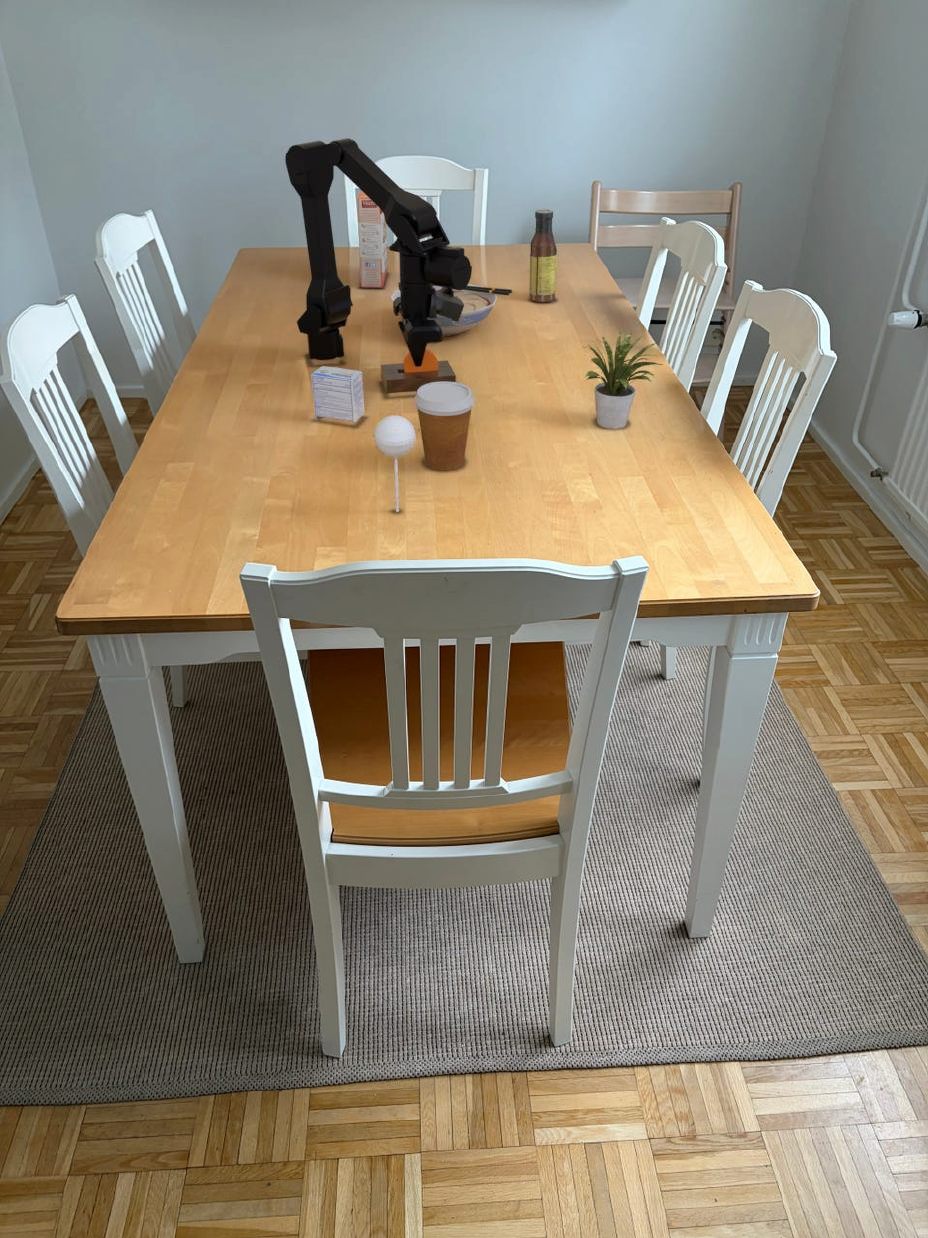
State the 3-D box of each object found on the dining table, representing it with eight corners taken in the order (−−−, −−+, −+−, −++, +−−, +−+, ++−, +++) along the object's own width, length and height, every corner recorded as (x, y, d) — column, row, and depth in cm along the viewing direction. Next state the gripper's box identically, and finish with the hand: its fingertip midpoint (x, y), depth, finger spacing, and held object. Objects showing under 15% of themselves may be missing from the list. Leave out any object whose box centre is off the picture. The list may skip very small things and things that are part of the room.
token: (401, 381, 179) (406, 347, 175) (400, 379, 180) (406, 345, 176) (435, 385, 181) (441, 351, 177) (434, 382, 182) (439, 349, 178)
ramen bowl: (369, 339, 203) (367, 300, 198) (413, 308, 220) (413, 272, 215) (478, 355, 195) (479, 316, 190) (515, 322, 212) (517, 285, 208)
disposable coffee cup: (453, 480, 150) (453, 408, 143) (403, 465, 154) (401, 394, 147) (484, 458, 156) (486, 388, 150) (436, 444, 161) (435, 375, 154)
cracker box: (384, 288, 232) (381, 196, 220) (359, 288, 232) (355, 196, 220) (389, 272, 243) (386, 184, 231) (365, 272, 243) (361, 184, 231)
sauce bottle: (559, 298, 227) (565, 209, 216) (547, 305, 223) (552, 215, 211) (535, 293, 230) (540, 206, 218) (523, 300, 226) (527, 211, 214)
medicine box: (365, 417, 169) (363, 370, 164) (355, 427, 166) (352, 379, 161) (325, 411, 171) (321, 364, 166) (314, 420, 168) (310, 373, 163)
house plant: (595, 448, 160) (605, 353, 151) (552, 417, 170) (558, 327, 160) (664, 432, 165) (677, 340, 156) (618, 404, 175) (628, 315, 166)
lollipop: (377, 501, 144) (373, 408, 135) (416, 500, 144) (414, 407, 136) (377, 522, 139) (373, 426, 130) (418, 520, 139) (416, 425, 131)
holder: (387, 398, 177) (386, 380, 175) (381, 382, 183) (380, 364, 181) (455, 393, 179) (455, 375, 177) (447, 377, 185) (447, 360, 183)
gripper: (471, 292, 163) (470, 380, 172) (450, 263, 178) (450, 345, 187) (407, 296, 161) (409, 384, 170) (391, 265, 176) (394, 348, 185)
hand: (417, 364), depth 178 cm, fingers closed on token, 1 cm apart
